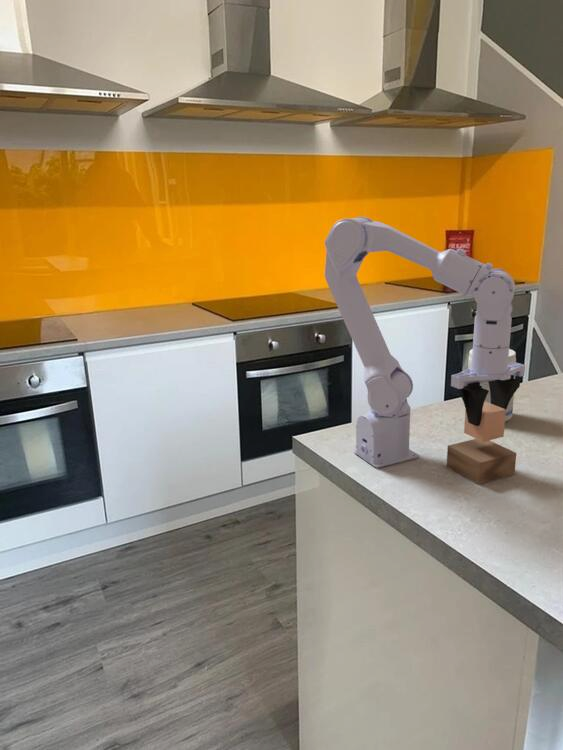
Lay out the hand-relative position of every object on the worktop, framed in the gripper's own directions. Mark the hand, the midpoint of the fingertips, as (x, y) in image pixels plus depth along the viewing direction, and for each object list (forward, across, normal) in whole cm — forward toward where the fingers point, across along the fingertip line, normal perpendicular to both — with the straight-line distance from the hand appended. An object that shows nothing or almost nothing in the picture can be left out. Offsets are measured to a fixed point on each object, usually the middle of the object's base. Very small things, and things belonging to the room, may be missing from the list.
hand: (485, 421), depth 101 cm
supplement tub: (+9, +19, +18) cm, 28 cm away
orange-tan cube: (+3, 0, 0) cm, 3 cm away
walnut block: (+9, -1, 0) cm, 9 cm away
